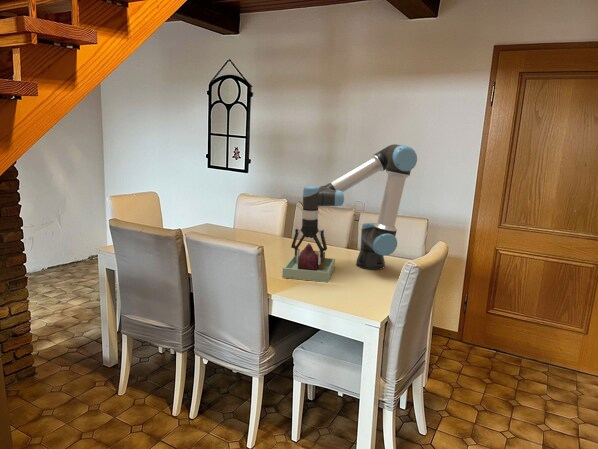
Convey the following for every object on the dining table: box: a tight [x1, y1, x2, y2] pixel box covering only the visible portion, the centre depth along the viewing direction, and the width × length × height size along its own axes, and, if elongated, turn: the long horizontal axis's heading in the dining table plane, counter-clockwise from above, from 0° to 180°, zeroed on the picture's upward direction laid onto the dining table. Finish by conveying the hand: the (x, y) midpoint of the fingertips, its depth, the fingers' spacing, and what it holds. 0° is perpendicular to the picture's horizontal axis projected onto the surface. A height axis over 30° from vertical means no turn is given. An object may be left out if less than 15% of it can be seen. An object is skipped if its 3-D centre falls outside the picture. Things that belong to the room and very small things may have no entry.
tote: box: [282, 254, 336, 284], centre depth 230 cm, size 22×24×5 cm
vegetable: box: [298, 242, 319, 271], centre depth 223 cm, size 10×10×15 cm
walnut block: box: [299, 249, 326, 270], centre depth 236 cm, size 12×6×8 cm, turn 78°
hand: (308, 263), depth 225 cm, fingers closed on vegetable, 10 cm apart
